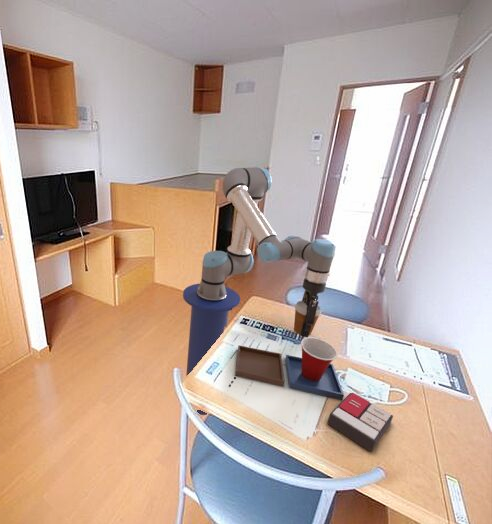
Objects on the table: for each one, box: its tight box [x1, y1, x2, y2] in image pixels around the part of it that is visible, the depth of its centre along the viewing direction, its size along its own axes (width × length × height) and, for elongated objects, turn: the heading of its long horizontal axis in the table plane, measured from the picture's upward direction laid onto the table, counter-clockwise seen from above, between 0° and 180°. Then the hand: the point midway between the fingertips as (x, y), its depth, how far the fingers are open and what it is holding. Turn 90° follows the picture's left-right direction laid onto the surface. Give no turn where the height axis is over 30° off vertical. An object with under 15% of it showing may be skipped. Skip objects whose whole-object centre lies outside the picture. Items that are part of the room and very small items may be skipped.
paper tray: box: [235, 344, 285, 387], centre depth 109 cm, size 15×15×2 cm
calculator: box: [326, 392, 394, 452], centre depth 86 cm, size 11×4×15 cm
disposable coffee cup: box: [293, 300, 323, 336], centre depth 122 cm, size 10×10×12 cm
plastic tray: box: [284, 354, 345, 401], centre depth 104 cm, size 15×15×2 cm
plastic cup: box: [300, 336, 339, 381], centre depth 102 cm, size 11×11×12 cm
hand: (302, 330), depth 124 cm, fingers closed on disposable coffee cup, 8 cm apart
